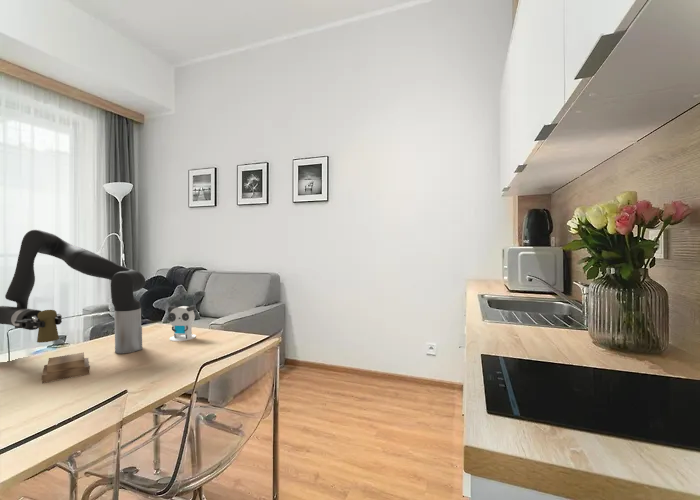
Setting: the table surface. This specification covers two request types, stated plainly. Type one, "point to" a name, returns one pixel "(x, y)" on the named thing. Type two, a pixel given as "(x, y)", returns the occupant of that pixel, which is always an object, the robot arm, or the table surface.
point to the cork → (47, 326)
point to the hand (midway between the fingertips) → (51, 323)
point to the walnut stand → (65, 367)
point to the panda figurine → (181, 322)
